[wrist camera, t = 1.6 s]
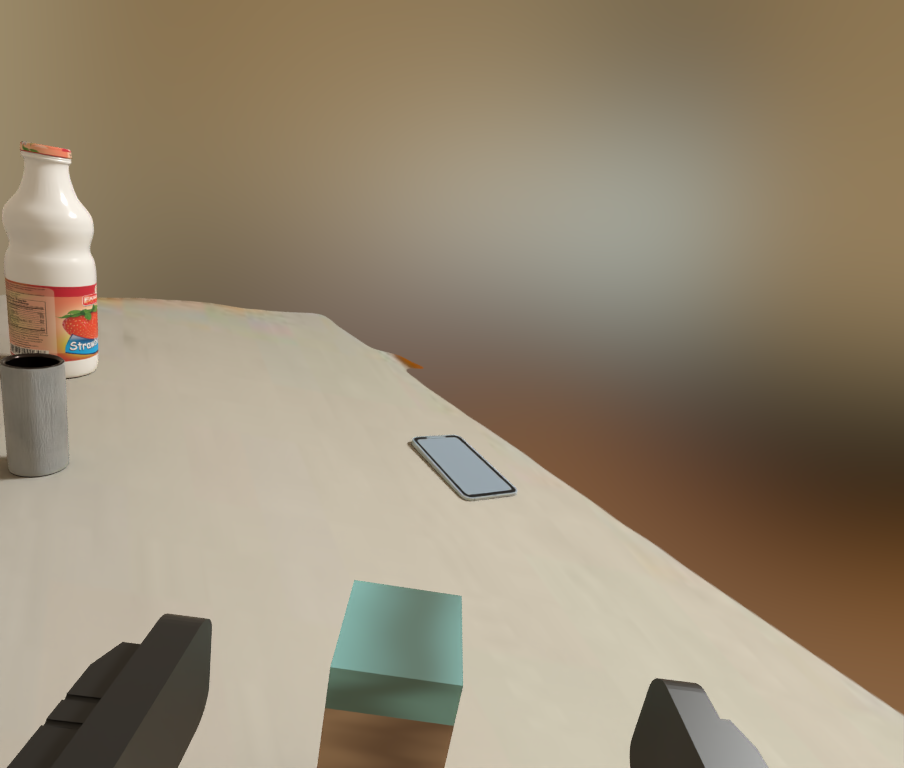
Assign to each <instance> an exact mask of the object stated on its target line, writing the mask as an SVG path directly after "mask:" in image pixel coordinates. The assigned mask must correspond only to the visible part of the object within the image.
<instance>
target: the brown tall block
mask: <svg viewBox="0 0 904 768" xmlns="http://www.w3.org/2000/svg"><path fill="white" fill-rule="evenodd" d="M462 688H463V660H462V596H458V595H451V594H444V593H438V592H431V591H424V590H417V589H411V588H404V587H397V586H391V585H384V584H377V583H370V582H364V581H357V580H354V584H353V587H352V591H351V594H350V598H349V602H348V605H347V609H346V613H345V616H344V620H343V623H342V627H341V631H340V634H339V638H338V642H337V645H336V649H335V652H334V656H333V660H332V663H331V667H330V674H329V682H328V689H327V697H326V704H325V712H324V720H323V727H322V735H321V742H320V750H319V757H318V765H317V768H444V767H445V762H446V758H447V753H448V749H449V745H450V740H451V736H452V731H453V727H454V723H455V718H456V714H457V710H458V705H459V701H460V696H461V692H462Z"/></svg>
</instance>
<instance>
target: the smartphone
mask: <svg viewBox="0 0 904 768" xmlns="http://www.w3.org/2000/svg"><path fill="white" fill-rule="evenodd" d="M412 445H413V446H414V448H415V449H416V450H417V451H418V452H419V453H420V454H421V455H422V456H423V457H424V458H425V459H426V460H427V461H428V462H429V464H430V465H431V466H432V467H433V468H434V469H435V470H436V471H437V472H438V473H439V474H440V475H441V476H442V477H443V479H444V480H445V481H446V482H447V483H448V484H449V485H450V486H451V487H452V488H453V489H454V490H455V491H456V492H457V493H458V495H459V496H460V497H461V498H463V499H465V500H468V501H477V500H483V499H491V498H501V497H508V496H515V495H516V494H517V488H516V487H515V486H513V485H512V484H511V483H510V482H509V481H508V480H507V479H506V478H505V477H504V476H503V475H502V474H501V473H499V472H498V471H497V470H496V469H495V468H494V467H493V466H492V465H491V464H490V463H489V462H488V461H487V460H485V459H484V458H483V457H482V456H481V455H480V454H479V453H478V452H477V451H476V450H475V449H474V448H473V447H472V446H470V445H469V444H468V443H467V442H466V441H465V440H464V439H463V438H462V437H460V436H458V435H438V436H421V437H414V438H413V439H412Z"/></svg>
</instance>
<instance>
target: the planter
mask: <svg viewBox="0 0 904 768" xmlns="http://www.w3.org/2000/svg"><path fill="white" fill-rule="evenodd" d="M0 377H1V389H2V401H3V413H4V425H5V438H6V450H7V462H8V468H9V471H10V472H11V473H13V474H15V475H19V476H27V477H34V476H44V475H49V474H53V473H56V472H58V471H60V470H62V469H64V468H65V467H66V466H67V465H68V464H69V442H68V420H67V397H66V375H65V360H64V359H63V358H61V357H59V356H56V355H52V354H45V353H23V354H15V355H10V356H7V357H4V358H3V359H1V360H0Z"/></svg>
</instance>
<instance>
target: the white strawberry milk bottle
mask: <svg viewBox="0 0 904 768" xmlns="http://www.w3.org/2000/svg"><path fill="white" fill-rule="evenodd" d="M20 150H21V156H23V158H24V161H25V166H24V173H23V177H22V180H21V183H20V186H19V188H18V190H17V192H16V193H15V194H14V195H13V196H12V197H11V198H10V199H9V200H8V201H7V202H6V204H5V205H4V208H3V212H2V221H3V225H4V228H5V231H6V233H7V236H8V238H9V246H8V249H7V251H6V253H5V260H4V272H5V282H6V296H7V310H8V323H9V337H10V350H11V355H15V354H23V353H45V354H52V355H56V356H59V357H61V358H63V359H64V360H65V375H66V378H73V377H79V376H83V375H87V374H89V373H92V372H93V371H95V370H96V368H97V366H98V322H97V288H96V287H97V277H96V267H95V262H94V259H93V257H92V255H91V253H90V245H91V241H92V238H93V234H94V226H93V220H92V217H91V215H90V214H89V212H88V211H87V210H86V208H85V207H84V206H83V205H82V204H81V202H80V201H79V199H78V198H77V196H76V194H75V191H74V188H73V186H72V183H71V180H70V176H69V165H70V164H71V159H72V157H71V151H70V150H68V149H62V148H57V147H52V146H46V145H40V144H35V143H29V142H21V144H20Z"/></svg>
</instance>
